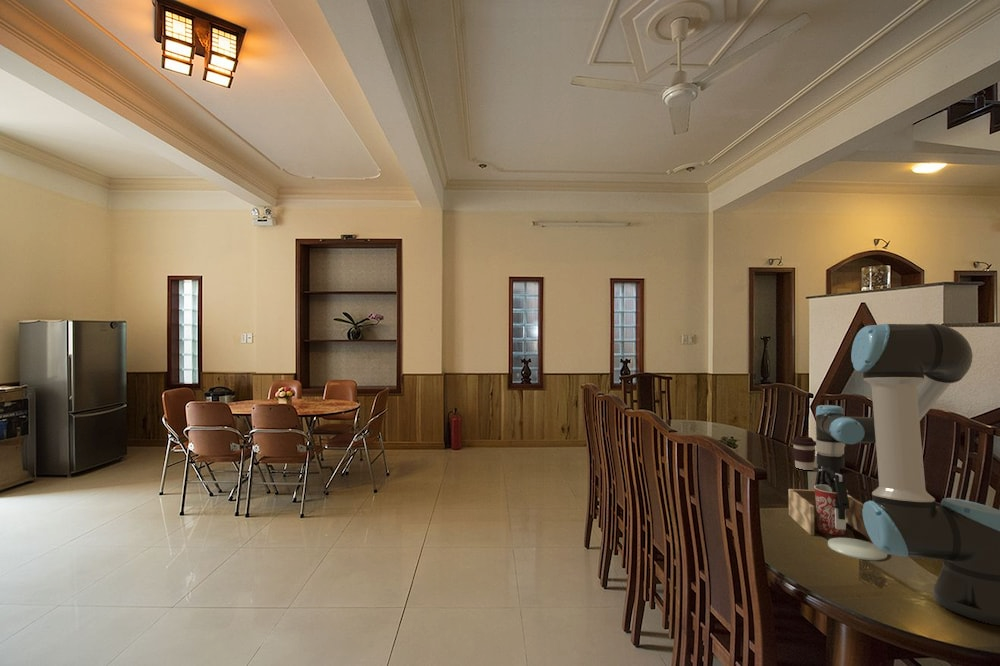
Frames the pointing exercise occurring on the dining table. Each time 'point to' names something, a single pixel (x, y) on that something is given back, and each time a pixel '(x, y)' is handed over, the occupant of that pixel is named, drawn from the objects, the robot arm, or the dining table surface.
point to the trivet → (856, 549)
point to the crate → (805, 511)
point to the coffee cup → (804, 452)
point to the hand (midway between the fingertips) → (831, 521)
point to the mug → (826, 510)
